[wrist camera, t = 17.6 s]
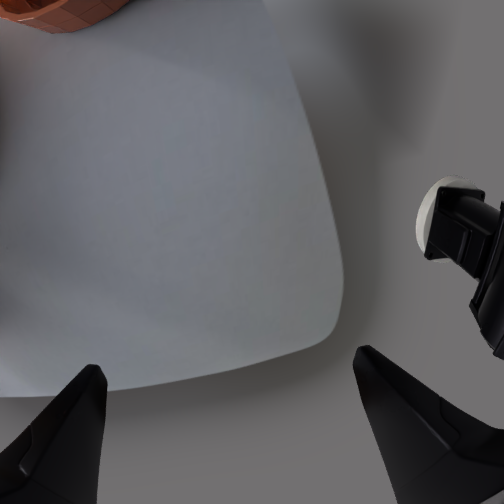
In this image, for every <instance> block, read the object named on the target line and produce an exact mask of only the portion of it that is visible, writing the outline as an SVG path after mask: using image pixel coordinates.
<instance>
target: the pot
mask: <svg viewBox="0 0 504 504" xmlns="http://www.w3.org/2000/svg"><path fill="white" fill-rule="evenodd" d="M128 1H130V0H0V17H1V18H3V19H6V20H10V21H13V22H17V23H20V24H24V25H27V26H30V27H34V28H37V29H40V30H43V31H46V32H49V33H51V34H54V33H70V32H73V31H76V30H79V29H82V28H85V27H88V26H91V25H94V24H95V23H97V22H99V21H100V20H102V19H104V18H106V17H108V16H109V15H111V14H113V13H115V12H116V11H117V10H119V9H120V8H121V7H122V6H123V5H125V4H126V3H127V2H128Z"/></svg>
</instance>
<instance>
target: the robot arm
mask: <svg viewBox="0 0 504 504" xmlns="http://www.w3.org/2000/svg"><path fill="white" fill-rule="evenodd" d="M442 192H443V194H442ZM484 199H485V192H484V191H482V190H479V189H471V188H461V187H450V186H440V187H439V188H438V190H437V194H436V200H435V206H434V211H433V217H432V222H431V226H430V231H429V236H428V240H427V244H426V248H425V253H424V256H425V258H427V259H428V260H435V259H443V258H450V259H451V260H452V261H453V262H455V263H456V264H457V265H459V266H460V267H462V269H464V270H465V271H466V272H467V273H468V274H469V275H471V276H472V277H473V278H474V279H476V280H477V281H478V282H479V284H478V287H477V289H476V292H475V294H474V297H473V299H471V302H470V304H469V307H470V309H471V311H472V313H473V315H474V317H475V319H476V321H477V323H478V325H479V327H480V329H481V330H480V332H481V335H482V336H483V337H484V339H485V340H486V342H487V343H488V345H489V346H490V348H492V349H493V350H494V352H493V355H494V356H496V357H498V358H500V359H502V360H504V201H502V202H501V206H500V209H501V211H498V210H497V209H495V208H493V207H491V206H489V205H487V204H486V203H484ZM353 370H354V373H355V377H356V381H357V385H358V388H359V393H360V396H361V400H362V403H363V406H364V409H365V411H366V414H367V417H368V420H369V422H370V425H371V428H372V430H373V433H374V436H375V439H376V441H377V444H378V447H379V450H380V452H381V455H382V458H383V461H384V463H385V467H386V470H387V472H388V475H389V478H390V481H391V484H392V487H393V490H394V492H395V493H394V494H395V497H396V500H397V503H398V504H504V429H497V428H494V427H491V426H489V425H487V424H485V423H483V422H482V421H479V420H478V419H476V418H474V417H472V416H471V415H469V414H467V413H465V412H464V411H462V410H460V409H459V408H457V407H455V406H454V405H453V404H451V403H450V402H448V401H447V400H445V399H444V398H442V397H440V396H439V395H438V394H437V393H435V392H434V391H433V390H431V389H429V388H428V387H427V386H426V385H424V384H423V383H421V382H420V381H419V380H417V379H416V378H414V377H413V376H411V375H410V374H409V373H407V372H406V371H405V370H403V369H402V368H400V367H399V366H398V365H396V364H395V363H393V362H392V361H390V360H389V359H388V358H387V357H385V356H384V355H382V354H381V353H380V352H378V351H377V350H375V349H374V348H373V347H371V346H370V345H365V346H360V347H358V348H357V351H356V354H355V357H354V360H353ZM107 386H108V384H107V379H106V377H105V375H104V374H103V372H102V370H101V368H100V366H98V365H95V364H88V365H87V366H85V367H84V368H83V369H82V370H81V371H80V372H79V373H78V375H77V376H76V377H75V378H74V379H73V380H72V381H71V382H70V383H69V384H68V385H67V386H66V387H65V388H64V389H63V390H62V391H61V392H60V393H59V394H58V395H57V396H56V397H55V398H54V399H53V400H52V401H51V402H50V403H49V404H48V405H47V407H46V408H45V409H44V410H43V411H42V412H41V413H40V414H39V415H38V416H37V417H36V418H35V419H34V420H33V421H32V422H31V424H30V425H29V426H28V427H27V428H26V429H25V430H24V431H23V432H22V433H21V434H20V435H19V436H18V437H17V438H16V439H15V440H14V441H13V442H12V443H11V444H10V445H9V446H8V447H7V448H6V449H4V450H3V451H2V452H1V453H0V504H97V488H98V475H99V465H100V456H101V447H102V440H103V433H104V426H105V417H106V399H107Z"/></svg>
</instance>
